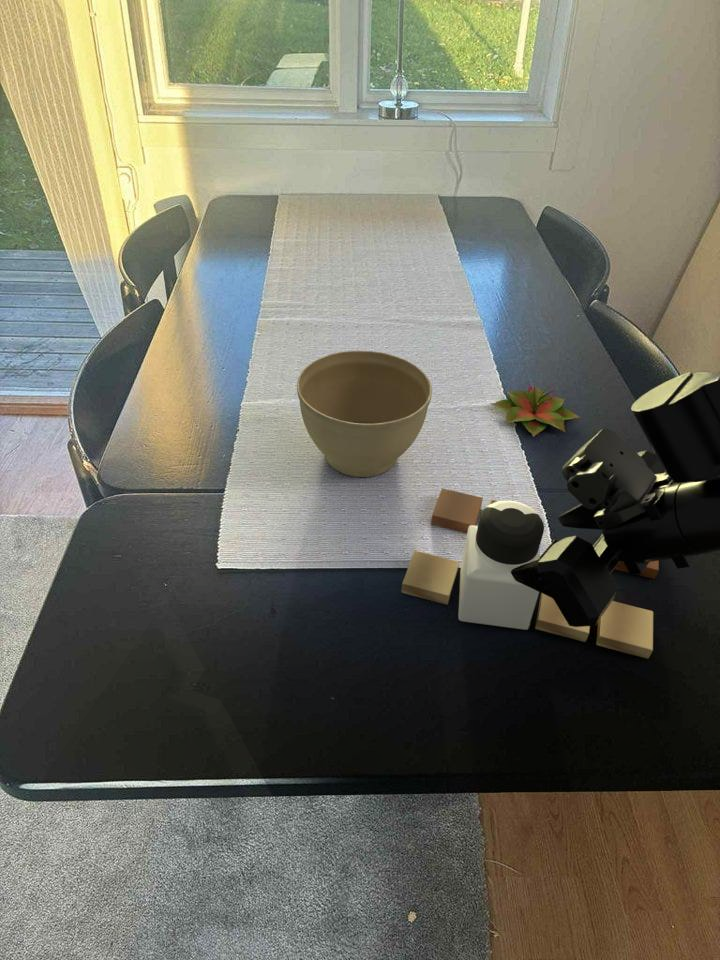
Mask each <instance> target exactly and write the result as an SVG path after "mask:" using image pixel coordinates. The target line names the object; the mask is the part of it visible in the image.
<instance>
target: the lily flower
mask: <svg viewBox="0 0 720 960" xmlns="http://www.w3.org/2000/svg"><path fill="white" fill-rule="evenodd" d="M539 381H540V382H541V379H540V380H539ZM531 384H532V387H531V386H530V385H528V386H527V388H526V389H527V390H526V391H524V390H514V391H511V390H506V392H507V394H508V396H509V398H510V399H508V398H506V399H501V400H497V401H495V402H491V403H489V404H490V405H491V406H494V407H497V408H498V409H500V410H502V411H504V412H507V413H506V416H505V420H504V422H503V424H508V423H514V422H516V423H517V422H521V423H522V425H523V426H524V427H525V429H526V430H527V431H528V432H529V433H531V435H532V437H533V438H534V437H535V436H536V435H538V434H539V433H540V432H542V431H543V430H545V429H546V428H547V427H548V425H550V426H552V427H554V428H557V429H558V430H560V431H562V432H565V433H566V429H565V425H564V424H565V421H567V420H573V419H576V418H579V419H580V418H581V416H579V415H578V414H576V413H574V412H573V411H572V410H570V409H569V408H566V407H562V406H563V404H564V401H565V398H560V397H558V396H557V397H556V396H554V395H553V394H551V393H554V392H557V391H558V390H557V389H553V390H551V391H548V392H546V390H547V389H548V388H549V387H551V386H552V385H553V383H550V384H549V385H548V386H547V387H546V389H545V390H544V391H543V390H541V389H540V388H538V387H537V386H535V383H534V382H533V381H532V382H531Z"/></svg>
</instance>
